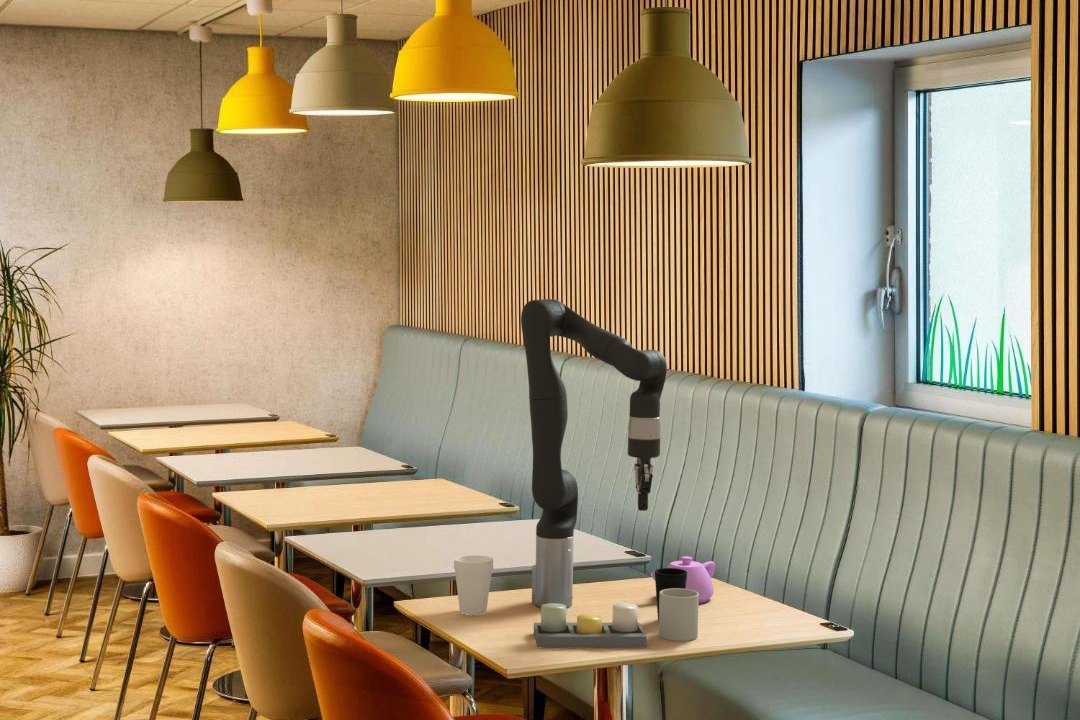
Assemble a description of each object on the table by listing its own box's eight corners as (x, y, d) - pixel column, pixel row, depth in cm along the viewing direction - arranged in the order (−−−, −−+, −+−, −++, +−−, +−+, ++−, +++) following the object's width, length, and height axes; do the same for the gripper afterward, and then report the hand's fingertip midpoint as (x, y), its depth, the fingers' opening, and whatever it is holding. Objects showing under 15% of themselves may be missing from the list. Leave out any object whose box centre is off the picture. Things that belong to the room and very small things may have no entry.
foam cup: (483, 618, 323) (484, 564, 322) (447, 614, 326) (448, 561, 325) (497, 609, 332) (498, 556, 331) (462, 606, 335) (463, 553, 334)
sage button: (541, 631, 302) (542, 609, 302) (540, 625, 307) (540, 603, 307) (567, 631, 302) (567, 609, 302) (564, 625, 308) (565, 603, 308)
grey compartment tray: (537, 647, 299) (537, 636, 299) (533, 633, 311) (533, 622, 311) (646, 647, 300) (646, 636, 300) (638, 633, 312) (638, 622, 312)
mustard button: (577, 642, 303) (578, 620, 302) (575, 636, 308) (575, 614, 308) (602, 642, 303) (603, 620, 303) (600, 635, 309) (600, 614, 308)
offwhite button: (613, 631, 303) (614, 609, 303) (610, 625, 308) (611, 603, 308) (639, 631, 303) (639, 609, 303) (635, 625, 309) (636, 603, 309)
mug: (670, 642, 305) (671, 598, 304) (650, 632, 313) (651, 589, 313) (712, 638, 309) (713, 594, 308) (691, 628, 318) (692, 585, 317)
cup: (684, 626, 319) (685, 575, 318) (651, 624, 320) (652, 573, 320) (687, 618, 326) (688, 568, 326) (655, 616, 328) (656, 567, 327)
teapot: (635, 597, 347) (636, 556, 346) (696, 589, 358) (697, 548, 357) (668, 609, 335) (669, 566, 335) (731, 600, 346) (732, 558, 345)
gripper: (664, 439, 311) (663, 515, 312) (655, 432, 324) (654, 505, 325) (631, 439, 311) (630, 515, 312) (624, 432, 324) (622, 505, 325)
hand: (642, 509), depth 319 cm, fingers closed
